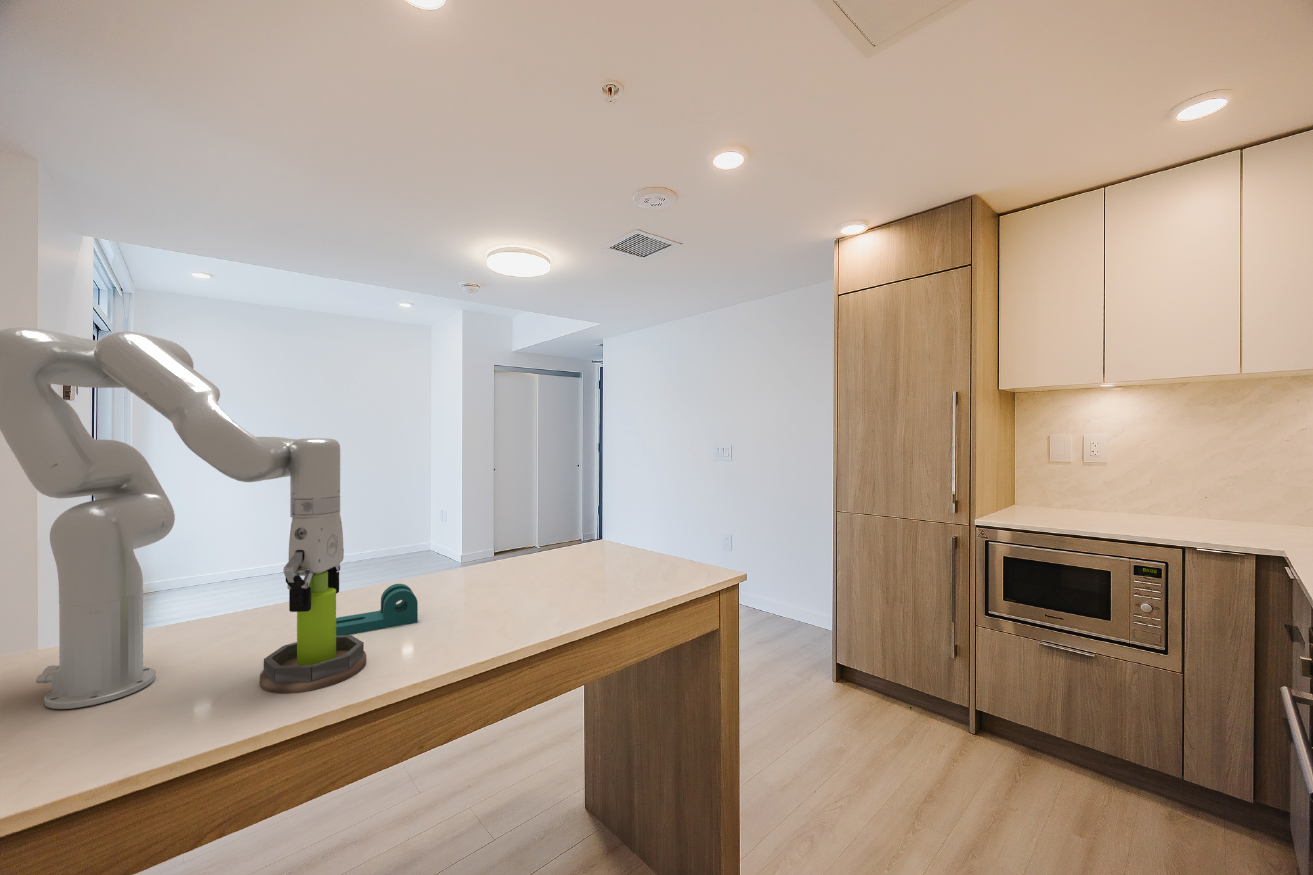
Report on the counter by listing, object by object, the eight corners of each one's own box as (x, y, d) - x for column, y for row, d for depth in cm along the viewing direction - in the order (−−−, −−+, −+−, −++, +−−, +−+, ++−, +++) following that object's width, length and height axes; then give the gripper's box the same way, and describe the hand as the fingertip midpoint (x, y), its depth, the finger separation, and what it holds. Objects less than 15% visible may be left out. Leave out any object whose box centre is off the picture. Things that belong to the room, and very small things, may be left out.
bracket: (412, 614, 124) (412, 581, 123) (417, 623, 118) (417, 588, 118) (322, 630, 114) (322, 594, 113) (323, 640, 108) (323, 602, 108)
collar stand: (236, 695, 85) (236, 672, 85) (293, 654, 101) (293, 635, 101) (341, 690, 87) (341, 668, 87) (380, 650, 102) (380, 632, 102)
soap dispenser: (294, 661, 95) (294, 552, 94) (338, 655, 97) (338, 548, 97) (286, 675, 89) (286, 559, 89) (333, 668, 92) (333, 555, 92)
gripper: (311, 514, 85) (311, 618, 85) (359, 500, 102) (359, 587, 103) (262, 514, 84) (262, 619, 85) (319, 500, 102) (319, 588, 102)
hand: (315, 601), depth 94 cm, fingers open, 9 cm apart
